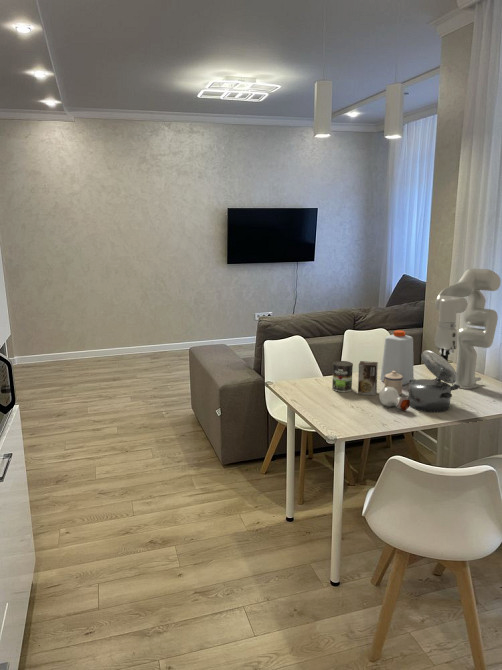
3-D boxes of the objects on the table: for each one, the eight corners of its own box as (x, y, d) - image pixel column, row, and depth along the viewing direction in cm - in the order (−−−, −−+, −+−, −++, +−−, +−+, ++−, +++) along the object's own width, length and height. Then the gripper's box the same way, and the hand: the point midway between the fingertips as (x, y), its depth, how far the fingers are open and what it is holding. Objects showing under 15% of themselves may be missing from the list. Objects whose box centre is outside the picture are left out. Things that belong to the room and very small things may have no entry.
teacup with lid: (405, 394, 268) (407, 372, 265) (391, 397, 264) (392, 374, 262) (391, 387, 279) (392, 366, 276) (376, 390, 275) (377, 368, 273)
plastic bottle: (391, 375, 300) (394, 327, 294) (416, 380, 290) (419, 331, 284) (377, 381, 290) (379, 331, 284) (402, 387, 279) (405, 335, 273)
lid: (431, 376, 263) (435, 373, 264) (462, 388, 245) (465, 384, 246) (415, 347, 255) (418, 344, 256) (445, 357, 237) (449, 353, 238)
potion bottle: (381, 404, 258) (405, 417, 246) (371, 397, 252) (396, 409, 240) (391, 388, 258) (415, 400, 247) (381, 380, 252) (406, 392, 241)
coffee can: (349, 393, 270) (350, 366, 267) (330, 391, 274) (330, 364, 271) (353, 387, 280) (354, 361, 277) (334, 385, 284) (335, 359, 280)
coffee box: (376, 392, 272) (378, 362, 268) (375, 396, 266) (377, 365, 262) (359, 390, 275) (360, 360, 271) (357, 394, 269) (358, 363, 265)
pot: (429, 394, 268) (430, 374, 266) (466, 409, 246) (468, 388, 244) (395, 400, 260) (397, 379, 258) (431, 417, 238) (433, 394, 235)
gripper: (465, 327, 242) (461, 365, 246) (441, 321, 255) (438, 358, 259) (452, 328, 239) (449, 367, 243) (429, 322, 252) (426, 359, 256)
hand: (443, 362), depth 251 cm, fingers closed
